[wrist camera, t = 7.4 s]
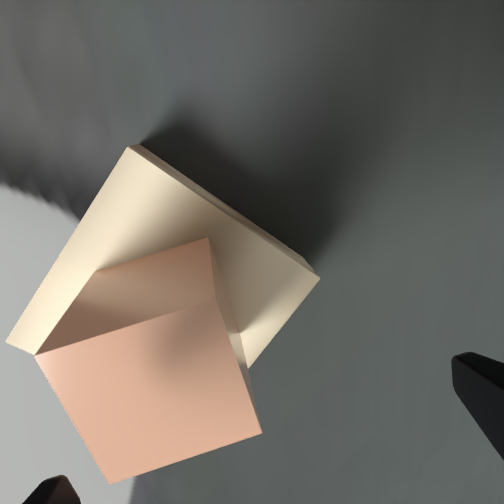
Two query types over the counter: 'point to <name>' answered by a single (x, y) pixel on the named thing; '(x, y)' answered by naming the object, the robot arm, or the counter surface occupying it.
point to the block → (152, 363)
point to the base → (166, 237)
